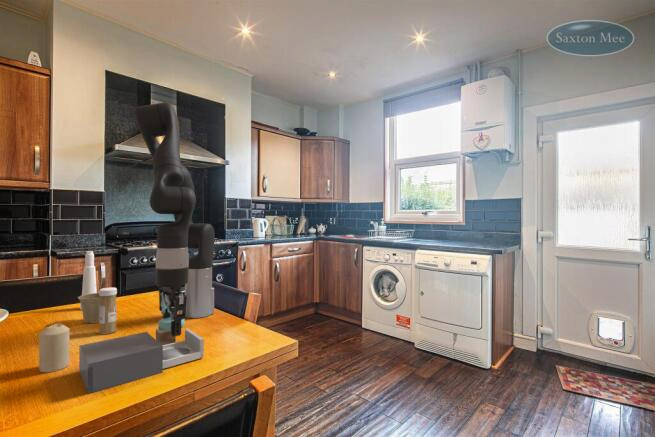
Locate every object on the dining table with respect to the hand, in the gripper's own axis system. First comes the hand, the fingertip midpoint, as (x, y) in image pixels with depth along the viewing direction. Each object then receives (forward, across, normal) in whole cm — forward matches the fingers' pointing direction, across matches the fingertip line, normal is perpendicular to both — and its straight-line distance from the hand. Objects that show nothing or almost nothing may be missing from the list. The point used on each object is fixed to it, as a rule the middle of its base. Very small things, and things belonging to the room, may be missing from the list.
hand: (171, 332), depth 84 cm
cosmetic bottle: (+7, +69, +9) cm, 70 cm away
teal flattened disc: (-1, 0, 0) cm, 1 cm away
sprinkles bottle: (+7, +33, +8) cm, 35 cm away
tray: (+7, 0, +1) cm, 7 cm away
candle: (+7, +13, +22) cm, 26 cm away
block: (+7, +11, -2) cm, 13 cm away
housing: (+7, 0, +11) cm, 13 cm away
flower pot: (+7, +49, +10) cm, 50 cm away
